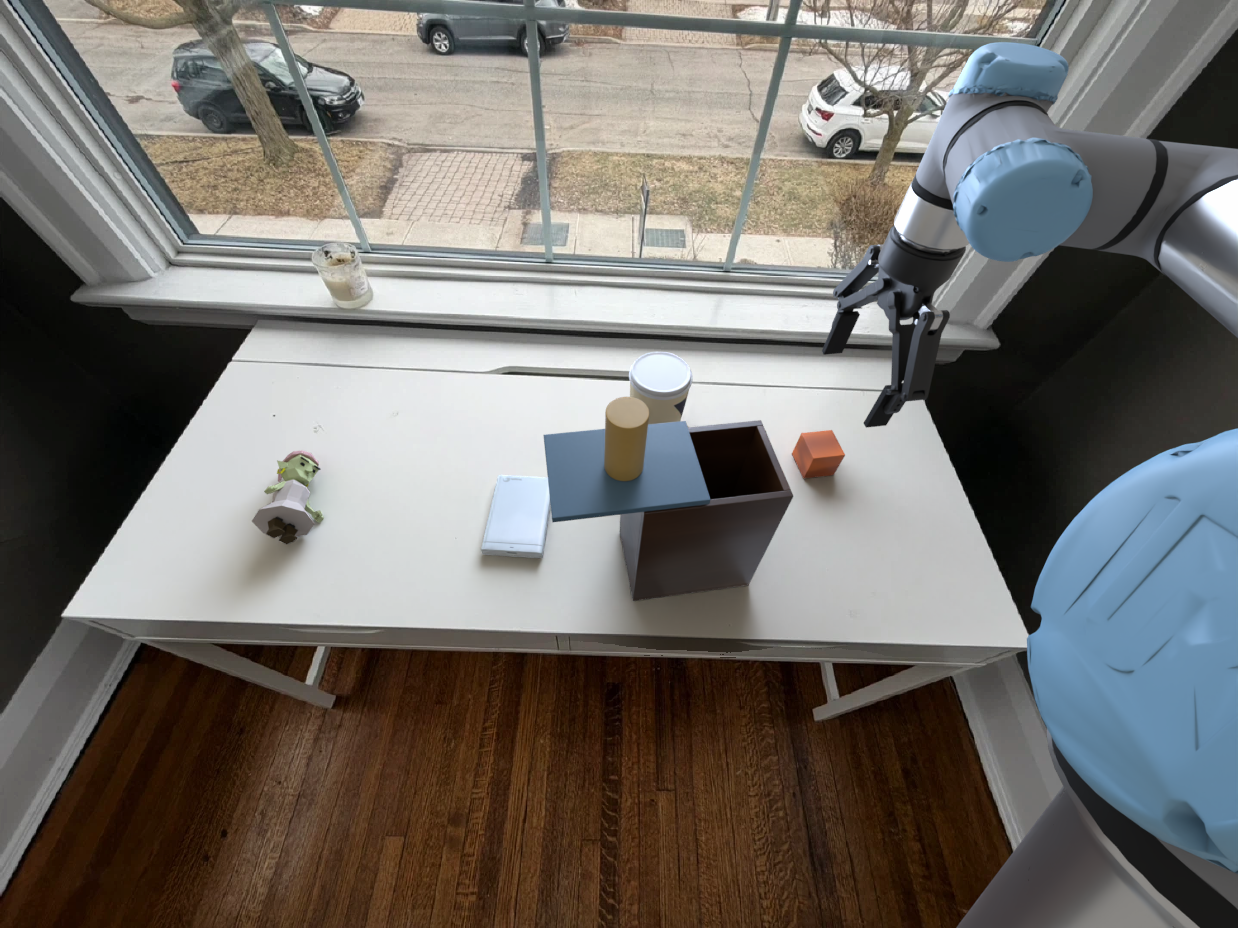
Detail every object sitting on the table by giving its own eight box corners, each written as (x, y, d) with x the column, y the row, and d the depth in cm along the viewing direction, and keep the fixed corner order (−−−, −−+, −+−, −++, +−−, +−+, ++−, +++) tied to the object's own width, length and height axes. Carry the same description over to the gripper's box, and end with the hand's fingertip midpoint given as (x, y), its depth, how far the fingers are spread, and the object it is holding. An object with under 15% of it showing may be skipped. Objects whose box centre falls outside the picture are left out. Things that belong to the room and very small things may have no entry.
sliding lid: (709, 504, 54) (726, 447, 47) (552, 522, 52) (545, 466, 45) (684, 425, 61) (696, 365, 54) (543, 439, 59) (537, 379, 52)
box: (748, 585, 72) (793, 496, 56) (632, 601, 70) (644, 513, 54) (726, 518, 79) (761, 419, 62) (619, 531, 77) (626, 433, 60)
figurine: (271, 510, 66) (295, 424, 76) (226, 534, 68) (255, 447, 77) (329, 541, 72) (344, 458, 82) (286, 562, 74) (307, 478, 84)
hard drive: (497, 474, 80) (480, 548, 72) (553, 477, 80) (541, 552, 72) (499, 480, 81) (482, 554, 74) (554, 484, 81) (542, 558, 74)
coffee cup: (683, 450, 86) (694, 395, 77) (624, 446, 86) (628, 392, 77) (682, 407, 92) (692, 351, 82) (626, 404, 92) (630, 348, 82)
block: (833, 475, 84) (845, 454, 80) (803, 478, 83) (813, 458, 79) (821, 450, 87) (832, 429, 83) (791, 453, 86) (801, 432, 82)
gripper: (1039, 307, 48) (924, 456, 65) (905, 175, 63) (840, 324, 80) (962, 313, 47) (866, 463, 64) (845, 178, 62) (792, 328, 79)
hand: (851, 386), depth 72 cm, fingers open, 13 cm apart
